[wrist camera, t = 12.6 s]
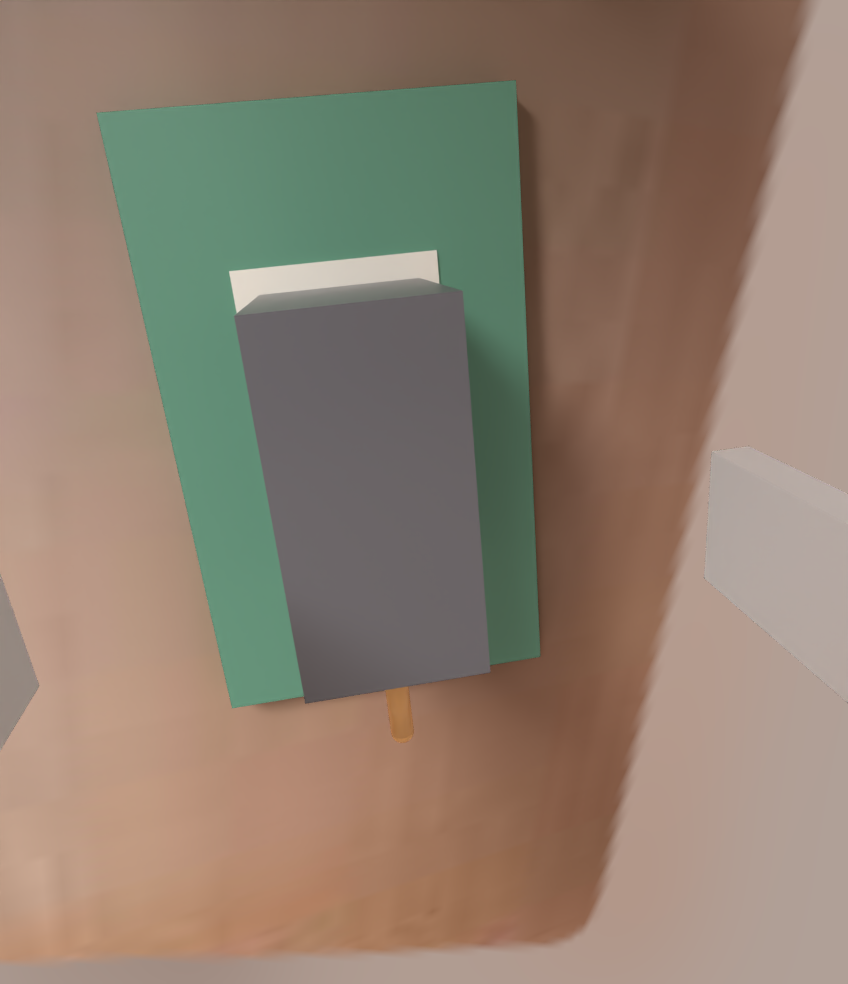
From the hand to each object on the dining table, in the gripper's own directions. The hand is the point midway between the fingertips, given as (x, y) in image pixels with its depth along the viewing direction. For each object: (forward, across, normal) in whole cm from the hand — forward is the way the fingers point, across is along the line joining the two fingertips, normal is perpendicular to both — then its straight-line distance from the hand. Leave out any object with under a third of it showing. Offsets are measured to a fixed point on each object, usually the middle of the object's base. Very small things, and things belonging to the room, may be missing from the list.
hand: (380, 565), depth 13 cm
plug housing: (+11, 0, -2) cm, 11 cm away
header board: (+12, 0, 0) cm, 12 cm away
